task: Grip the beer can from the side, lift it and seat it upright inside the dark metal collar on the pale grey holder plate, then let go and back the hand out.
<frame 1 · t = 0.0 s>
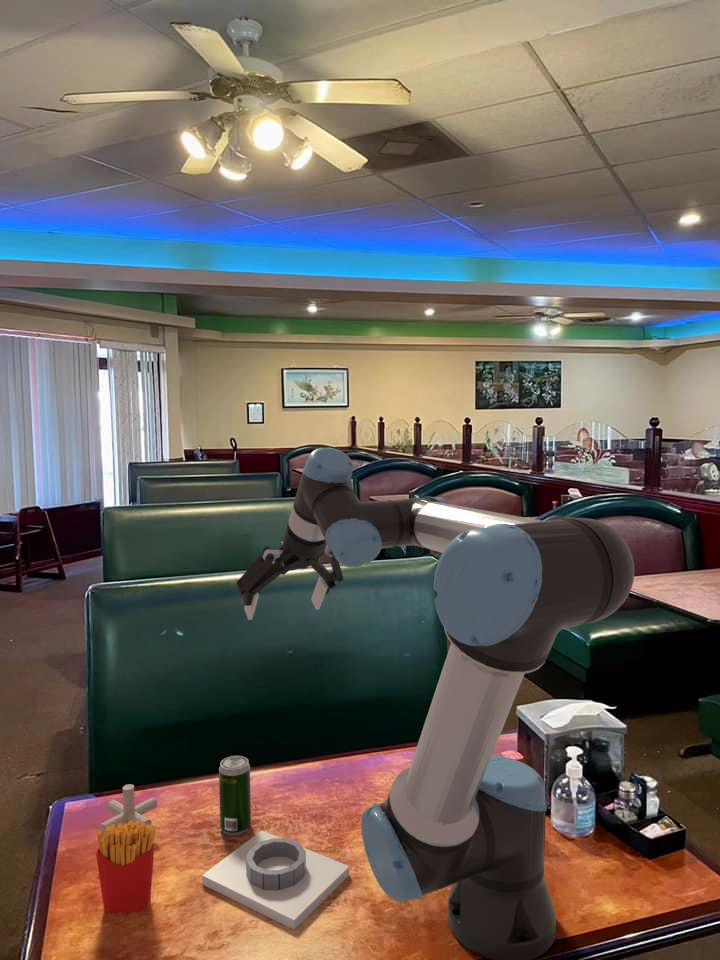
hand: (282, 609, 132), 36 cm above the table, tool tilted 35°, fingers open, 13 cm apart
beer can: (235, 828, 123), on the table
pipe connector: (130, 844, 119), on the table
french fries: (129, 905, 104), on the table
holder: (276, 879, 110), on the table
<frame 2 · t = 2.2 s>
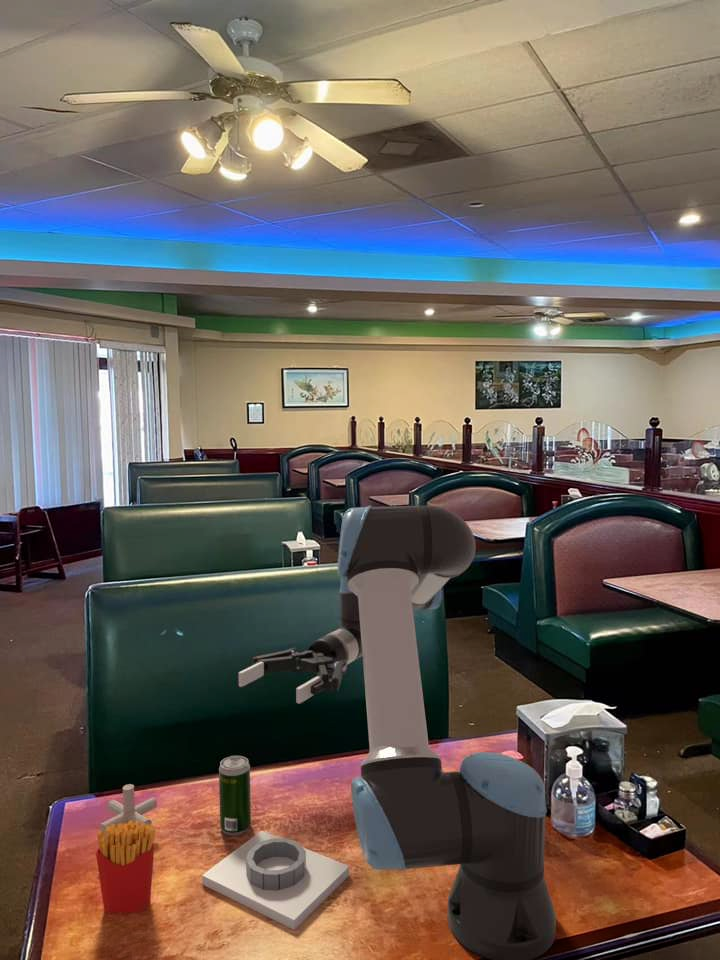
hand: (268, 687, 129), 22 cm above the table, tool horizontal, fingers open, 13 cm apart
nothing on the table moved.
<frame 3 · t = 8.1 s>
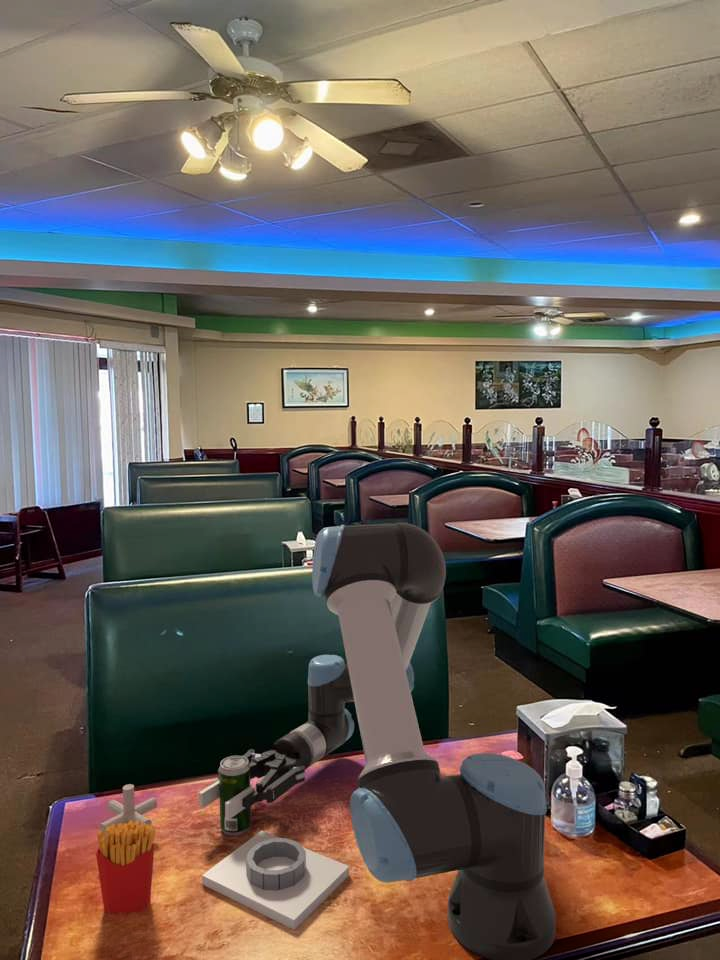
hand: (213, 805, 118), 7 cm above the table, tool horizontal, fingers closed on beer can, 5 cm apart
beer can: (235, 828, 123), on the table, touching gripper
everything else where it was.
when the fingers open (10 cm above the table, at t = 14.2 s): beer can drops 1 cm, resting on holder.
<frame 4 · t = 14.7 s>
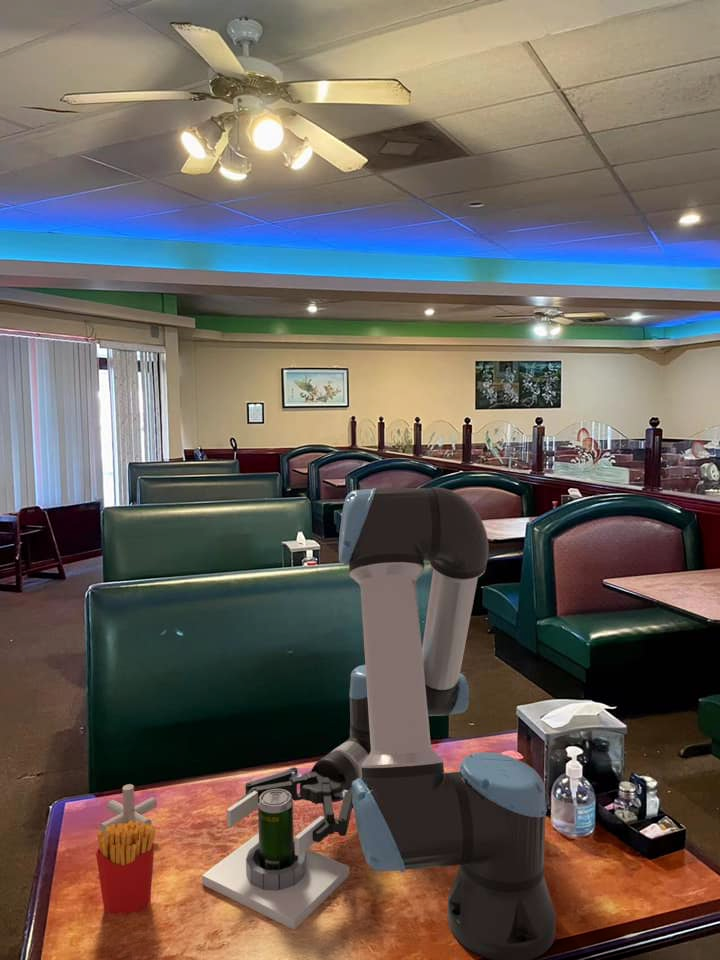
hand: (261, 832, 106), 10 cm above the table, tool horizontal, fingers open, 13 cm apart
beer can: (276, 871, 109), point 1 cm above the table, touching holder
everything else where it was.
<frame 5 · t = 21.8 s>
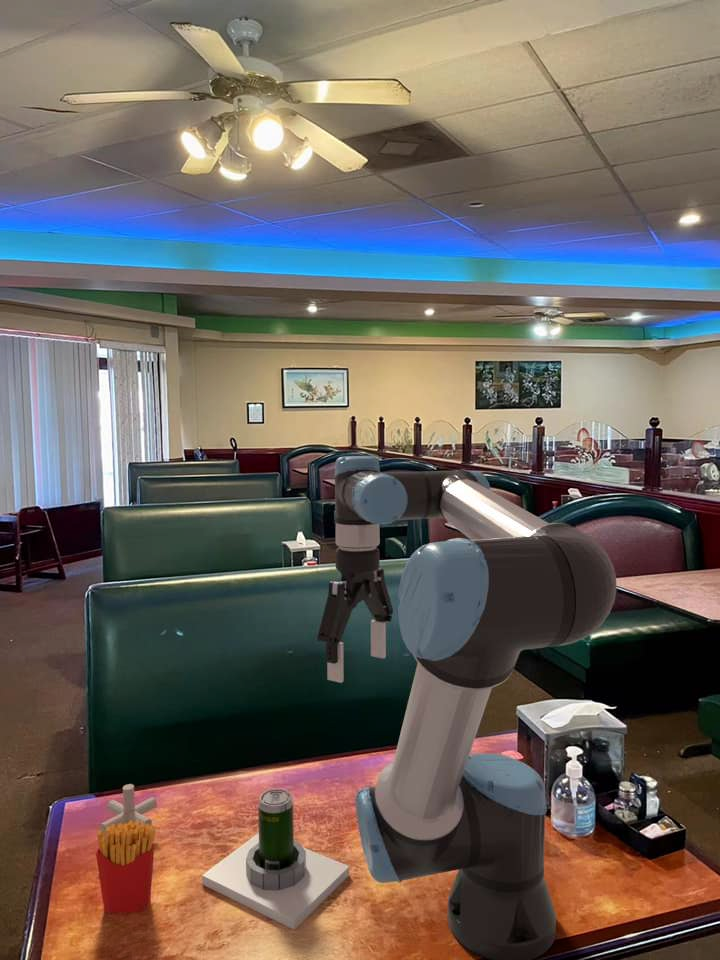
hand: (357, 668, 121), 29 cm above the table, tool pointing down, fingers open, 13 cm apart
nothing on the table moved.
at the end: beer can 0.1 cm off-centre on the holder, point 1.3 cm above the holder's base; beer can tilted 0°; the gripper is holding nothing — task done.
